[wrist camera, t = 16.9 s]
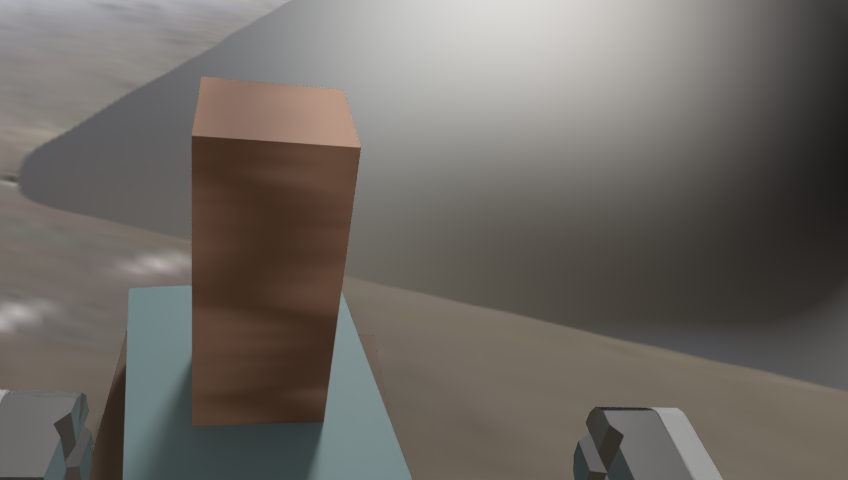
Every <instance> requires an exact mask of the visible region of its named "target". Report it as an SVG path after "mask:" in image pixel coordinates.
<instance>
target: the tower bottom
mask: <svg viewBox="0 0 848 480" xmlns="http://www.w3.org/2000/svg"><path fill="white" fill-rule="evenodd" d="M358 336H359V339H360V342H361V344H362V347H363V350H364V353H365V355H366V358H367V361H368V363H369V366H370V369H371V371H372V374H373V377H374V379H375V382H376V385H377V387H378V390H379V393H380V395H381V398H382V401H383V403H384V406H385V409H386V411H387V414H388V408H387V403H386V398H385V392H384V387H383V381H382V376H381V370H380V365H379V360H378V354H377V349H376V343H375V338H374V335H367V334H358ZM126 361H127V331H126V335H125V338H124V342H123V346H122V349H121V353H120V357H119V360H118V364H117V367H116V371H115V375H114V378H113V382H112V386H111V389H110V393H109V397H108V400H107V404H106V408H105V411H104V415H103V418H102V422H101V426H100V429H99V433H98V437H97V440H96V444H95V448H94V451H93V455H92V463H91V469H90V474H89V479H88V480H123V456H124V424H125V393H126ZM388 417H389V414H388Z"/></svg>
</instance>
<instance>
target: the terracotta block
mask: <svg viewBox="0 0 848 480" xmlns="http://www.w3.org/2000/svg"><path fill="white" fill-rule="evenodd" d="M360 150H361V147H360V143H359V140H358V136H357V133H356V130H355V126H354V123H353V119H352V117H351V113H350V109H349V106H348V103H347V99H346V96H345V93H344V90H339V89H329V88H317V87H307V86H297V85H286V84H275V83H265V82H254V81H242V80H232V79H221V78H211V77H202V80H201V86H200V92H199V97H198V103H197V108H196V115H195V120H194V126H193V132H192V426H210V425H241V424H273V423H305V422H324V417H325V410H326V402H327V395H328V387H329V380H330V373H331V365H332V358H333V350H334V343H335V335H336V328H337V321H338V313H339V306H340V298H341V291H342V284H343V276H344V268H345V261H346V253H347V246H348V238H349V232H350V224H351V217H352V209H353V202H354V194H355V186H356V180H357V172H358V165H359V157H360Z"/></svg>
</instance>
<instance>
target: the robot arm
mask: <svg viewBox="0 0 848 480" xmlns="http://www.w3.org/2000/svg"><path fill="white" fill-rule="evenodd" d="M88 412H89V410H88V404H87V398H86V395H84V394H83V393H72V392H52V391H32V390H13V389H12V390H0V480H88V479H89V474H90V469H91V463H92V454H93V441H92V433H91V431H90V430H88V429H87V428H86V427H85V426H84V422H85V420H86V417H87V414H88ZM586 424H587V427H588V429H589V432H590V433H588V434H587V435H586V436H585V437H583V438H582V439H581V440H579V441H578V444H577V447H576V450H575V453H574V466H573V472H574V478H575V480H723V479H722V477H721V475H720V474H719V472H718V470H717V469H716V467H715V465H714V463H713V462H712V460H711V458H710V457H709V455H708V453H707V451H706V450H705V448H704V446H703V445H702V443H701V441H700V440H699V438H698V436H697V434H696V433H695V431H694V429H693V428H692V426H691V424H690V422H689V421H688V419H687V417H686V416H685V414H684V413H683V412H682V411H681V410H679V409H678V408H642V407H595V408H594V409H593V410H592V411H591V412H590V413H589V416H588V418H587V421H586Z"/></svg>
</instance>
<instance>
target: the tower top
mask: <svg viewBox="0 0 848 480" xmlns="http://www.w3.org/2000/svg"><path fill="white" fill-rule="evenodd" d="M123 480H412V478H411V475H410V473H409V470H408V467H407V465H406V462H405V459H404V457H403V454H402V451H401V449H400V446H399V443H398V441H397V438H396V435H395V433H394V430H393V427H392V425H391V422H390V419H389V417H388V414H387V411H386V409H385V406H384V403H383V401H382V398H381V395H380V393H379V390H378V387H377V385H376V382H375V379H374V377H373V374H372V371H371V369H370V366H369V363H368V361H367V358H366V355H365V353H364V350H363V347H362V344H361V342H360V339H359V336H358V334H357V331H356V328H355V326H354V323H353V320H352V318H351V315H350V312H349V310H348V307H347V304H346V302H345V299H344V296H343V294H342V291H341V298H340V306H339V313H338V321H337V328H336V335H335V343H334V350H333V358H332V365H331V373H330V380H329V387H328V395H327V402H326V410H325V417H324V422H305V423H273V424H241V425H210V426H192V285H188V286H167V287H146V288H129V298H128V330H127V361H126V393H125V424H124V456H123Z"/></svg>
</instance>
